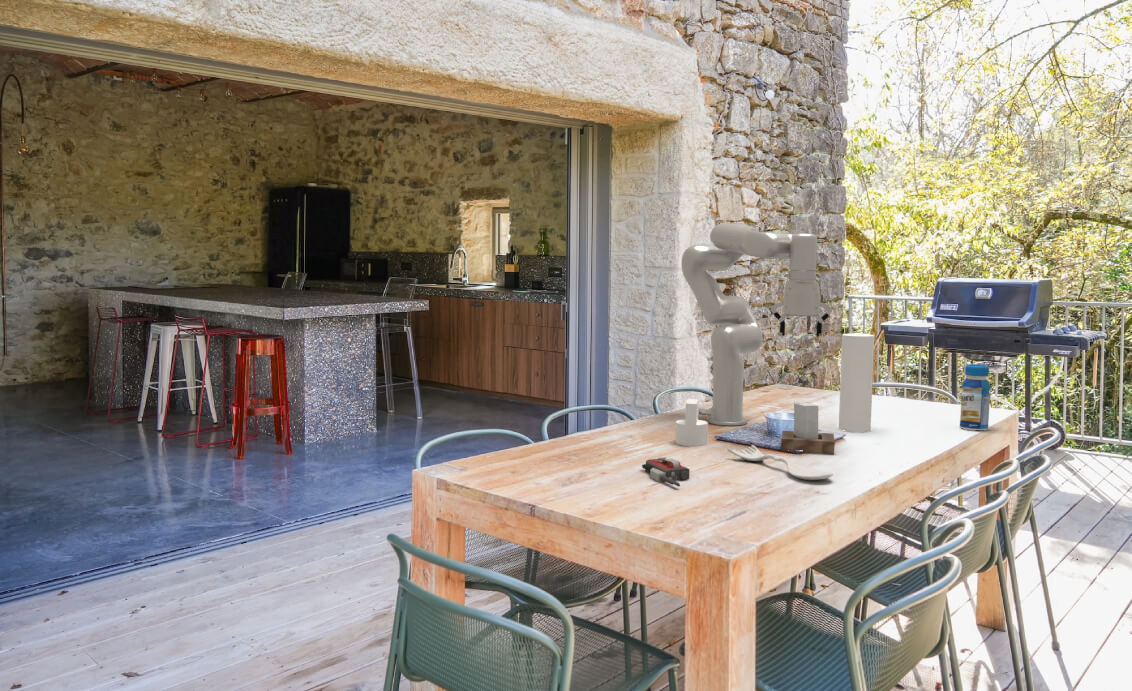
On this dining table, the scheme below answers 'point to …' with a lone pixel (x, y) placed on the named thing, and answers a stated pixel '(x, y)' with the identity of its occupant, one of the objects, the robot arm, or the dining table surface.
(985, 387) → the beverage bottle
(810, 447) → the socket block
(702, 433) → the cylinder with rectangular tab
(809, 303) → the robot arm
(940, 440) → the dining table surface
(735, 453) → the beige plastic utensil
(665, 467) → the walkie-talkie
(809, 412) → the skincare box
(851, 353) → the tall grey rectangular pillar
